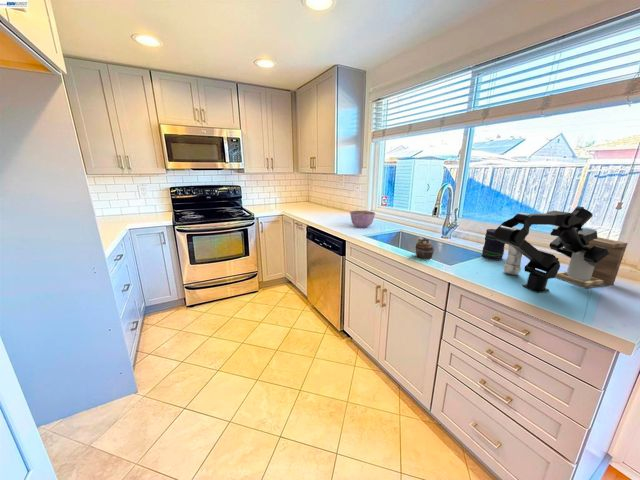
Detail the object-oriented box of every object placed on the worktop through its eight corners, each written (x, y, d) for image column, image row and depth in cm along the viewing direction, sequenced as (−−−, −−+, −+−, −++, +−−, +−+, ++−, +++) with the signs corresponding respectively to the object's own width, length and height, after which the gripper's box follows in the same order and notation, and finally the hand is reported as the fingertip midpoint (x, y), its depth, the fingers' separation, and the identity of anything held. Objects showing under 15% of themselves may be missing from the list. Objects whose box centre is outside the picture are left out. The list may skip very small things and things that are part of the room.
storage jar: (505, 258, 145) (511, 231, 141) (497, 261, 140) (503, 234, 136) (486, 253, 153) (491, 228, 149) (477, 256, 148) (482, 230, 144)
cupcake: (426, 261, 139) (429, 242, 136) (410, 256, 146) (412, 238, 143) (436, 257, 144) (439, 240, 141) (421, 253, 152) (423, 236, 149)
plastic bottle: (500, 273, 124) (510, 231, 118) (503, 269, 128) (512, 229, 123) (517, 277, 119) (528, 234, 114) (520, 273, 124) (529, 232, 119)
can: (562, 273, 116) (570, 246, 112) (583, 276, 113) (592, 249, 110) (571, 279, 109) (579, 251, 106) (594, 282, 106) (603, 254, 103)
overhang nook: (585, 288, 110) (599, 245, 105) (549, 275, 123) (559, 236, 118) (613, 284, 114) (627, 243, 109) (575, 272, 127) (586, 234, 122)
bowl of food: (344, 226, 216) (344, 212, 213) (359, 223, 229) (360, 209, 226) (363, 230, 202) (364, 215, 199) (379, 227, 215) (380, 213, 212)
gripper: (613, 227, 95) (629, 256, 99) (562, 217, 113) (578, 243, 117) (587, 248, 97) (604, 276, 101) (541, 235, 115) (557, 259, 119)
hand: (585, 262), depth 109 cm, fingers closed on can, 7 cm apart
